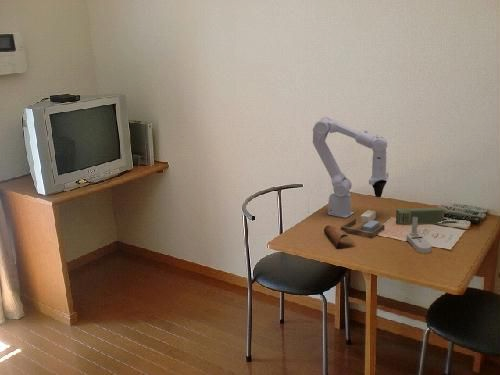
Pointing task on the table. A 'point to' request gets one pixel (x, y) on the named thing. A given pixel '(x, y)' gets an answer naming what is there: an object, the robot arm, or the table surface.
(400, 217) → the handheld radio
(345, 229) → the rack
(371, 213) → the cream rectangular block
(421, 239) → the electronic device
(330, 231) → the sunglasses case
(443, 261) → the table surface
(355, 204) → the table surface
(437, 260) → the table surface
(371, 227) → the light blue block
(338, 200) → the robot arm
